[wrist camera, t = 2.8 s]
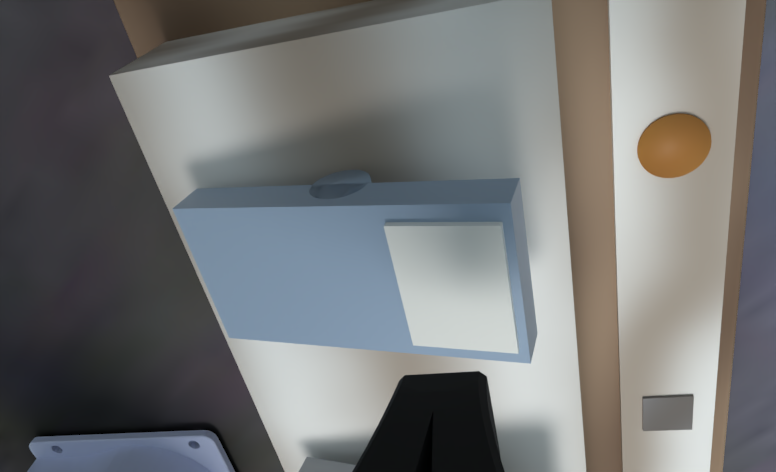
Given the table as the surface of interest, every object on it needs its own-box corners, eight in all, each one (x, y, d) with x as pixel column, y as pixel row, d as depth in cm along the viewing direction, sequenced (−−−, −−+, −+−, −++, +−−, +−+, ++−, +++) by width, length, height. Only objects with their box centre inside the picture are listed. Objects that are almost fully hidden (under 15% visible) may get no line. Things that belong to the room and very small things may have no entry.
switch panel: (337, 510, 29) (318, 597, 25) (121, -35, 17) (29, -6, 14) (709, 507, 25) (743, 608, 22) (765, -186, 13) (858, -199, 10)
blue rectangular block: (260, 298, 18) (226, 341, 16) (212, 175, 16) (168, 212, 14) (542, 313, 15) (529, 368, 13) (525, 162, 13) (508, 207, 11)
